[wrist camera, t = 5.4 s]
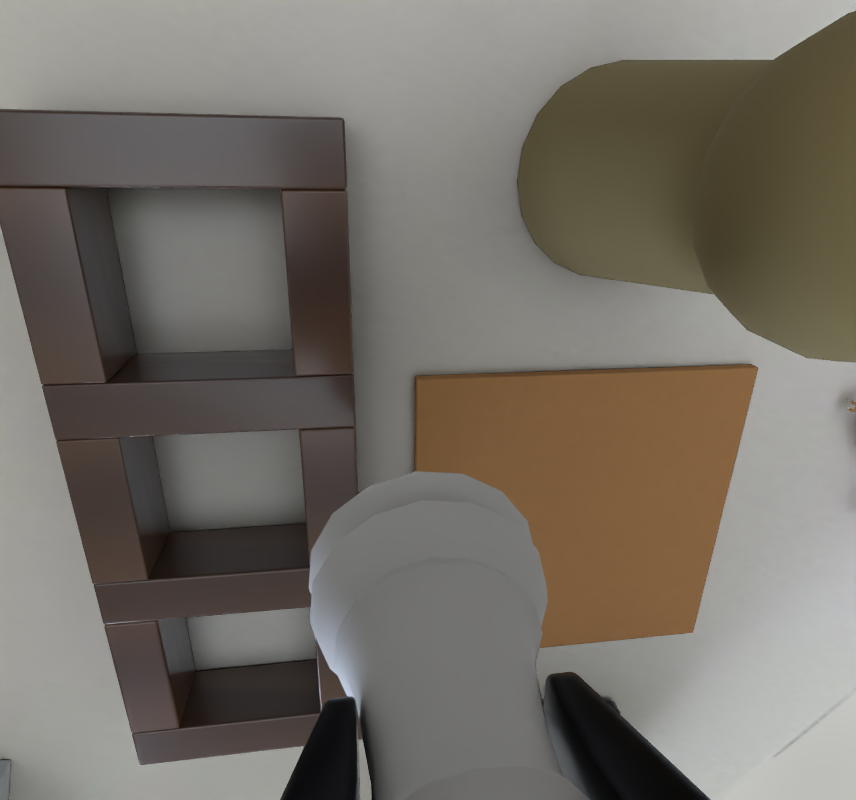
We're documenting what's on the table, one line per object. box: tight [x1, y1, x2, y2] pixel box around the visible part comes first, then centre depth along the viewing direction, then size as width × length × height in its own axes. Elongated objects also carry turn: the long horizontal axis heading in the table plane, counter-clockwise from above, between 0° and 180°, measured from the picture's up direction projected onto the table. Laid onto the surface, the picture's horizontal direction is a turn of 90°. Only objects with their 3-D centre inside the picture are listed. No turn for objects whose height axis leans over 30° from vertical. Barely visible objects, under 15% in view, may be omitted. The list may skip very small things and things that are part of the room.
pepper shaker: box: [517, 11, 856, 362], centre depth 12 cm, size 6×6×11 cm
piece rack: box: [0, 109, 363, 765], centre depth 18 cm, size 21×8×2 cm, turn 179°
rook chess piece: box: [309, 471, 590, 800], centre depth 8 cm, size 4×4×8 cm
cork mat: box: [414, 364, 758, 648], centre depth 22 cm, size 12×12×1 cm
